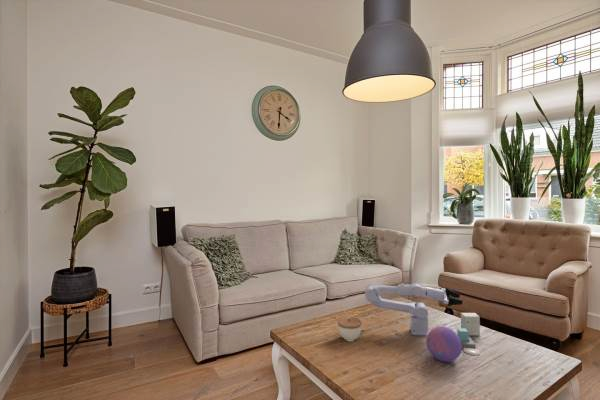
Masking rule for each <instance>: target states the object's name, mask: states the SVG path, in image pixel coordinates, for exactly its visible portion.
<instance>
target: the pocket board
mask: <svg viewBox="0 0 600 400" xmlns="http://www.w3.org/2000/svg"><path fill="white" fill-rule="evenodd" d="M470 336H471V335H468V342H462V341H461V345H462V348H463V349H464V348H474V349H476V344H475V341H473V339H472V338H471V337H470Z"/></svg>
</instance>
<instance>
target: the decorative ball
mask: <svg viewBox="0 0 600 400" xmlns="http://www.w3.org/2000/svg"><path fill="white" fill-rule="evenodd" d="M425 341H426V342H425V343H426V348H427V351H429V353H430V355H432V357H434V358H435V359H436V360H438V361H441V362H446V363H448V362H450V363H451V362H453V361H455V360H457V358H459V357H460V355H461V352H462V348H463V347H462V345H461V341H460V338H459V337H458V335H457V333H456V332H455V331H454V330H453V329H451V328H449V327H446V326H436V327H434V328H432V329H431V330H429V333H428V335H427V336H426V340H425Z"/></svg>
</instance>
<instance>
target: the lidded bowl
mask: <svg viewBox="0 0 600 400" xmlns="http://www.w3.org/2000/svg"><path fill="white" fill-rule="evenodd" d="M337 329H338V333H339V336H340V337H341V338H342V339H343V338H344V339H346V340H355V339H356V340H357V339H358V338H359V337H360V336H361V332H362V321H361V319H359V318H356V317H348V316H347V317H346V316H345V317H342V318H339V319H338V320H337ZM344 339H343V340H344ZM346 340H345V341H346ZM356 340H355V341H356Z"/></svg>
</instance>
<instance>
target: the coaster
mask: <svg viewBox="0 0 600 400" xmlns="http://www.w3.org/2000/svg"><path fill="white" fill-rule="evenodd" d="M463 352H464V353H465V354H467V355H470V356H479V355H480V350H479V349H476V348H463Z"/></svg>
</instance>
